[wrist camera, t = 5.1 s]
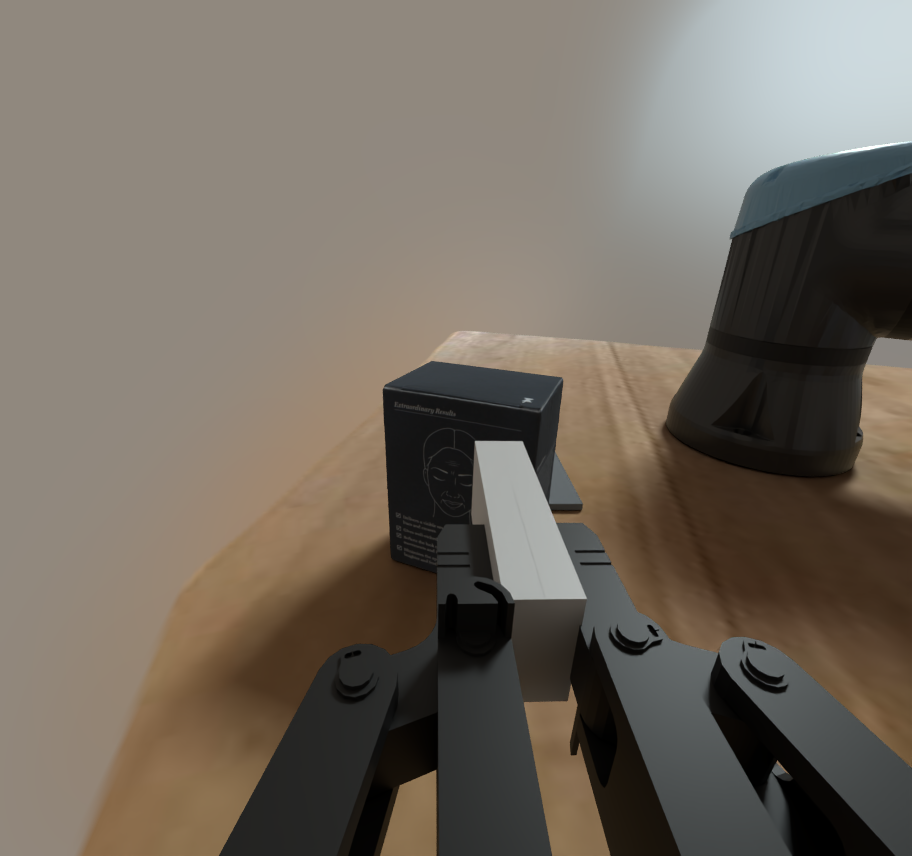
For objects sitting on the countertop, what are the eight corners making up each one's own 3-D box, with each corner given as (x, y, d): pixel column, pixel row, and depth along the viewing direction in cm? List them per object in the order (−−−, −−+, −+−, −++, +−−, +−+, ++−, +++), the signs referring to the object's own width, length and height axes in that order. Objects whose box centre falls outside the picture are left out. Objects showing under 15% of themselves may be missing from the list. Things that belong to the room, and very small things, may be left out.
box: (544, 540, 28) (566, 375, 23) (520, 604, 23) (542, 410, 18) (430, 509, 30) (430, 356, 26) (387, 560, 25) (379, 383, 21)
